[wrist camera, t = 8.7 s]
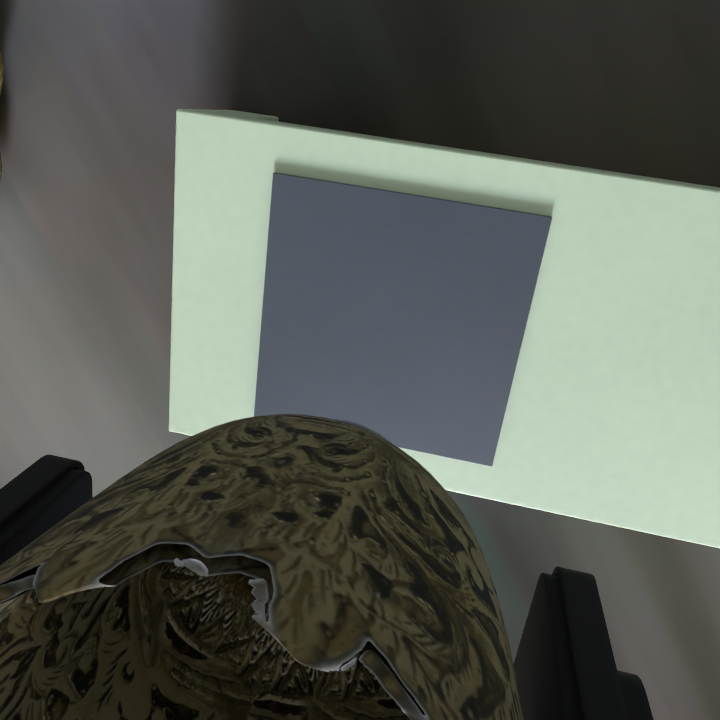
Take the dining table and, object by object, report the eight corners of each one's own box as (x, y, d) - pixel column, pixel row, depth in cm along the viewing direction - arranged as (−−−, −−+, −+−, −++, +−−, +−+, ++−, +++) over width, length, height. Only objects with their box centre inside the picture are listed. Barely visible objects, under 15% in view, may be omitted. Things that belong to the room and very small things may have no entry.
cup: (173, 584, 16) (-108, 1006, 8) (175, 289, 13) (-248, 523, 5) (484, 655, 15) (482, 1203, 7) (558, 352, 12) (673, 741, 4)
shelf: (939, 215, 23) (1061, 241, 18) (805, 502, 27) (874, 585, 22) (231, 109, 26) (172, 108, 21) (216, 383, 30) (165, 433, 25)
